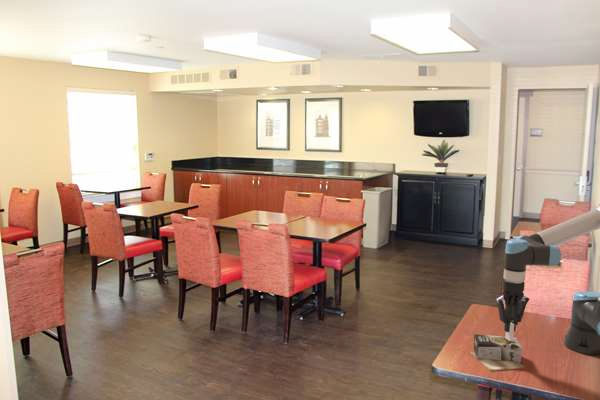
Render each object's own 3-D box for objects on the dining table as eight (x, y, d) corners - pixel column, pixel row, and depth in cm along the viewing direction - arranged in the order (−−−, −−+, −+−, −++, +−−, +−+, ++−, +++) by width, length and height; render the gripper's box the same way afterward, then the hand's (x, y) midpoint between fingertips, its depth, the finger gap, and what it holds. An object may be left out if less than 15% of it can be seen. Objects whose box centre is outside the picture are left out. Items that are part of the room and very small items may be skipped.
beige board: (502, 351, 202) (502, 349, 202) (523, 367, 189) (523, 366, 189) (470, 353, 200) (470, 352, 200) (489, 370, 186) (489, 369, 186)
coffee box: (522, 347, 191) (478, 343, 193) (520, 362, 192) (476, 359, 194) (516, 336, 199) (473, 333, 202) (514, 351, 201) (472, 348, 203)
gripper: (523, 276, 194) (518, 334, 198) (492, 277, 191) (488, 336, 195) (535, 282, 187) (530, 342, 190) (503, 284, 184) (499, 344, 188)
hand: (509, 339), depth 193 cm, fingers closed
